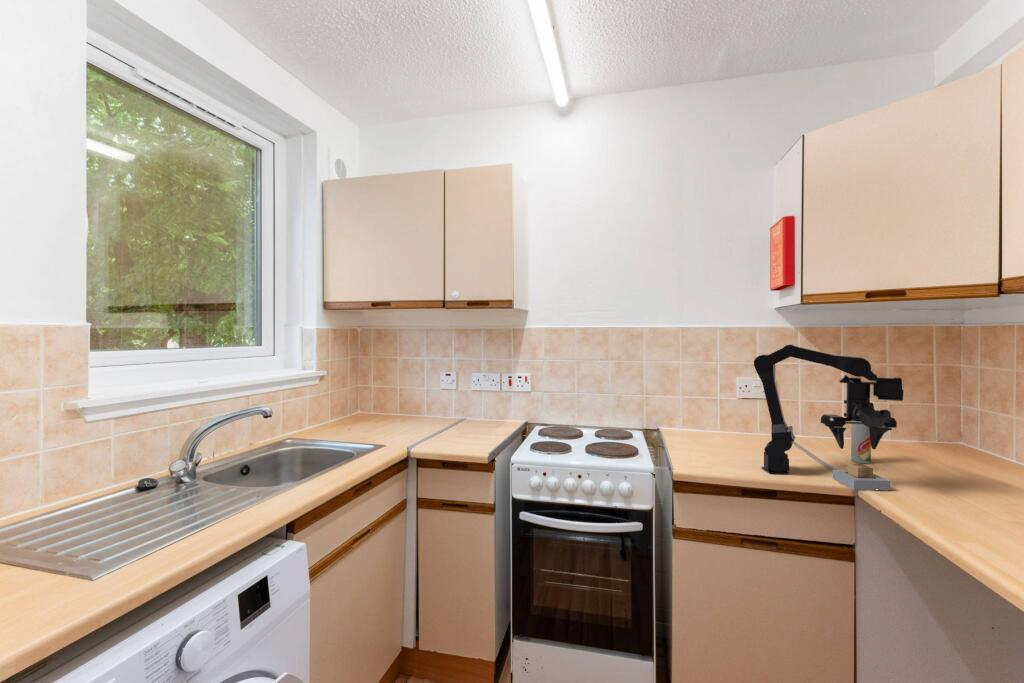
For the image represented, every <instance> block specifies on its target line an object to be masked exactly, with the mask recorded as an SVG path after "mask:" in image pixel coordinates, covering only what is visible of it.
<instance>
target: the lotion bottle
mask: <svg viewBox="0 0 1024 683" xmlns="http://www.w3.org/2000/svg"><path fill="white" fill-rule="evenodd" d="M850 460H852V461H851V462H853V461H854V463H856V464H865V465H868V464H871V462H872V447H871V442H870V431H869V427H867V426H865V425H864V424H850Z"/></svg>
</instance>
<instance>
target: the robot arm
mask: <svg viewBox="0 0 1024 683" xmlns="http://www.w3.org/2000/svg"><path fill="white" fill-rule="evenodd" d="M788 358H795V359H799V360H803V361H807V362H812V363H816V364H819V365H820V364H821V365H823V366H827V367H832V368H835V369H837V370H838V371H841V372H843V373H846V374H845V375H844V376H843V377H842V378H840V379H839V383H841V384H846V399H844V400H843V404H846V406H845V407H846V412H843V416H840V415H838V414H823V415H822V416H821V417H820V423H821V424H823V425H824V426H825V427H828V428H829V430H830V431H831V433H832V435H833V437H834V438H835V441H836V442H837V445H838V448H840V449H842V450H843V449H844V448H845V447H844V446H845V431H846V429H847V428H846V427H845V425H847V424H848V425H849V424H850V425H851V424H864V425H865V426H867V427H869V431H870V442H871V450H876V449H877V447H878V445H879V443H880V442H881V439H882V437H883V435H884V434H886V433H887V432H888V431H892V430H893V428H894V429H895V428H898V421H897V419H896V418H894V417H893V416H892V414H891V411H890V410H888V409H880V410H878V409H877V410H876V409H875V408H874V407H875V405H874V403H873V402H872V401H871V385H872V396H873V397H877V400H883V401H897V402H903V400H904V388H903V379H902V378H901V377H879V376H878V375H877V374H876V373H874V372H873V371H872V365H871V363H870V361H869V360H868V359H866V358H864V357H862V356H851V355H839V354H837V355H835V354H831V353H827V352H822V351H818V350H812V349H809V348H804V347H800V346H796V345H794V344H786V345H785V346H784V347H781V348H780V349H777V350H776V351H774V352H771V353H769V354H765V353H763V354H762V355H758V356H757V357H755V358H754V361H753V367H754V369H755V371H756V374H757V376H758V378H759V379H760V382H761V383H762V387H763V391H764V396H765V400H766V404H767V409H768V414H769V417H770V423H771V435H770V436H771V440H770V441H768V442H767V443H766V445H765V447H764V451H763V466H761V469H762V470H764V471H765V472H767V473H769V474H770V475H771V474H772V475H791V472H790V459H789V457H788V456H789V454H788V453H786V452H787V451H789V450H790V449H791V448H792V446H793V444H794V442H795V439H796V436H795V435H794V431H793V430H794V429H793V428H794V427H793V425H790V426H788V424H787V423H786V421H785V417H784V412H783V409H782V408H783V407H782V404H781V400H780V395H779V392H778V387H777V382H776V364H778V363H781V362H782V361H784V360H786V359H788ZM847 374H848V375H851V376H854V377H849V376H848V375H847ZM860 377H861V378H860ZM862 377H863V378H865V379H866V380H868V381H863V380H862Z"/></svg>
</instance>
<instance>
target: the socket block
mask: <svg viewBox="0 0 1024 683" xmlns="http://www.w3.org/2000/svg"><path fill="white" fill-rule="evenodd" d="M833 479H834V480H833ZM832 480H833V481H835V480H836V482H837V481H838V482H837V483H839V484H841V485H843V486H845V487H847V488H849V489H851V490H852V491H863V492H864V491H866V492H867V490H876V489H878V490H890V491H891V480H889V479H886V478H884V477H881V476H880V475H877V474H875V473H873V479H871V478H855V477H853V476H851V475H849V474H848V469H832Z"/></svg>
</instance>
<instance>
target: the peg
mask: <svg viewBox="0 0 1024 683" xmlns="http://www.w3.org/2000/svg"><path fill="white" fill-rule="evenodd" d="M847 470H848V474H849V475H851V476H853V477H855V478H871V479H873V474H874V467H872V466H869V465H868V464H863V463H847Z"/></svg>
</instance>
